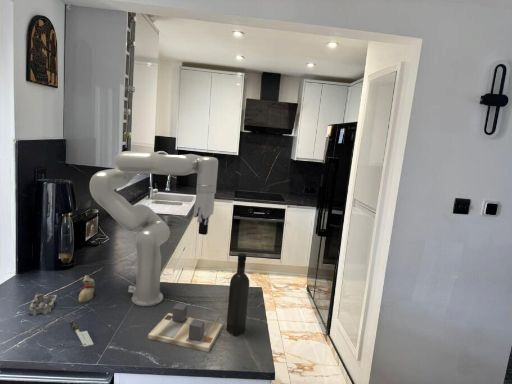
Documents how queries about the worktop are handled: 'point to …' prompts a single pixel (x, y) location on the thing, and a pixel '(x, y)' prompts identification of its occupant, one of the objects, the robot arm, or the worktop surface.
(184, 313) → the dark grey block
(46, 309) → the egg carton
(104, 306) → the worktop surface
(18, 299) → the worktop surface
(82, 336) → the cleaver
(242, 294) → the wine bottle
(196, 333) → the right tab
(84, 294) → the cream animal figurine
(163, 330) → the switch panel
